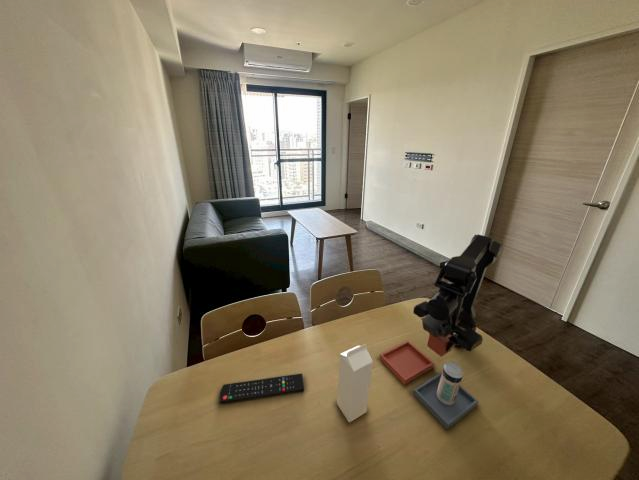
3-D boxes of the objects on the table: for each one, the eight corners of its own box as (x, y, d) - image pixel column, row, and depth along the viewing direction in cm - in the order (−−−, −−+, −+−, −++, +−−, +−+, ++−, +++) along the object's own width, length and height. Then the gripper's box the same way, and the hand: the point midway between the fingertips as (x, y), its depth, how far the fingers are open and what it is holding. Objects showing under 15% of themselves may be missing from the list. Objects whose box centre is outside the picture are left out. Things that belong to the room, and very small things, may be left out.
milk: (366, 412, 69) (375, 352, 61) (348, 423, 66) (355, 362, 58) (353, 393, 74) (359, 335, 65) (336, 403, 71) (340, 344, 63)
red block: (437, 340, 81) (440, 327, 79) (451, 350, 77) (455, 337, 75) (426, 345, 78) (429, 333, 76) (441, 357, 74) (444, 344, 72)
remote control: (304, 392, 74) (304, 388, 74) (218, 405, 70) (218, 402, 70) (302, 376, 79) (302, 373, 78) (222, 388, 75) (221, 384, 74)
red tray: (407, 344, 92) (407, 340, 91) (433, 367, 83) (434, 363, 82) (379, 358, 86) (380, 354, 85) (404, 385, 77) (405, 380, 76)
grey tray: (442, 375, 80) (443, 370, 79) (476, 405, 71) (478, 401, 70) (413, 394, 74) (414, 389, 73) (447, 430, 65) (448, 425, 64)
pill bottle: (450, 391, 74) (459, 361, 70) (457, 407, 70) (467, 376, 66) (433, 389, 75) (441, 359, 70) (439, 405, 71) (448, 374, 66)
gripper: (404, 294, 75) (397, 335, 81) (465, 334, 60) (451, 380, 66) (429, 284, 80) (421, 324, 86) (490, 318, 65) (475, 363, 71)
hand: (439, 345), depth 77 cm, fingers closed on red block, 5 cm apart
